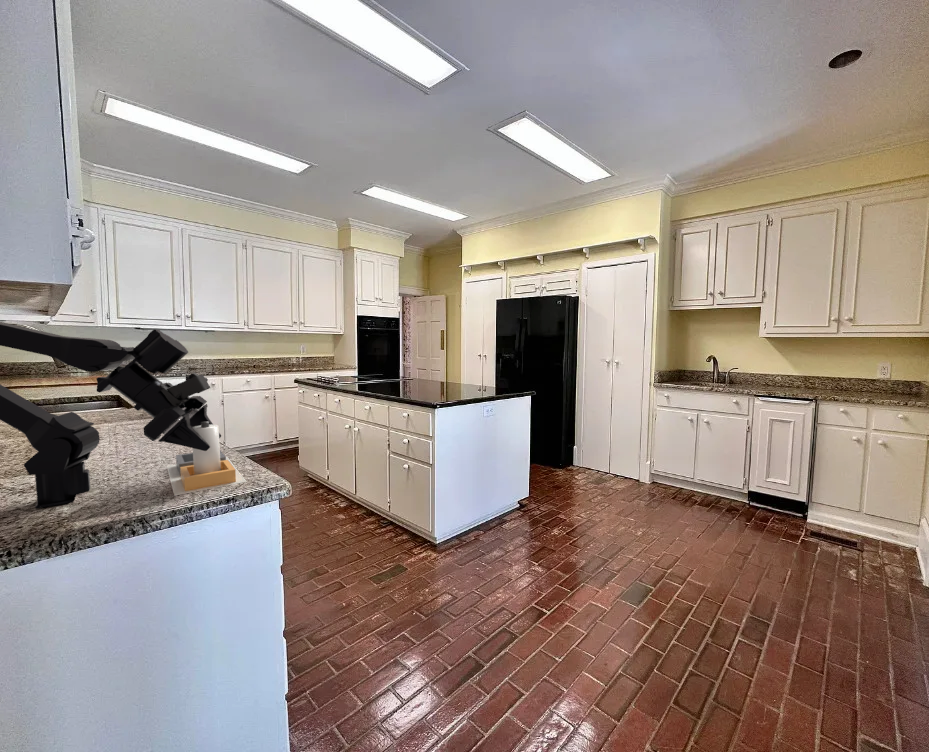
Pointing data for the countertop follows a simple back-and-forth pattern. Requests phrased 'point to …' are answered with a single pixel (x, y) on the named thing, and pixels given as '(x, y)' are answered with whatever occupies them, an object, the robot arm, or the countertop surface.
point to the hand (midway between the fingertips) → (214, 443)
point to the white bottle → (211, 457)
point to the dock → (201, 475)
